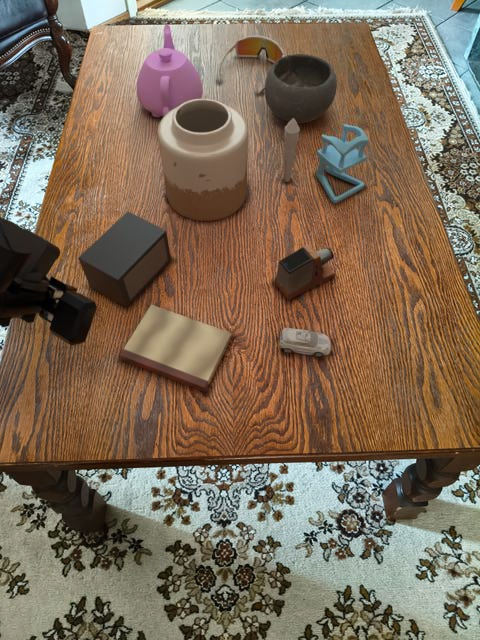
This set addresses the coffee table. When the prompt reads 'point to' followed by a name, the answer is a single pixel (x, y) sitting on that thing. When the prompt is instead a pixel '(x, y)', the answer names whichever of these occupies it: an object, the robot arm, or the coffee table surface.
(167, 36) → the teapot
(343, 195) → the blue-grey angular frame piece
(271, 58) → the sunglasses
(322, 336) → the toy car
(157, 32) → the coffee table surface
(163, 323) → the notebook
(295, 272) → the electronic device
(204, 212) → the vase
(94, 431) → the coffee table surface
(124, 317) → the coffee table surface
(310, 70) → the bowl
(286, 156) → the grey pointed post
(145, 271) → the block
